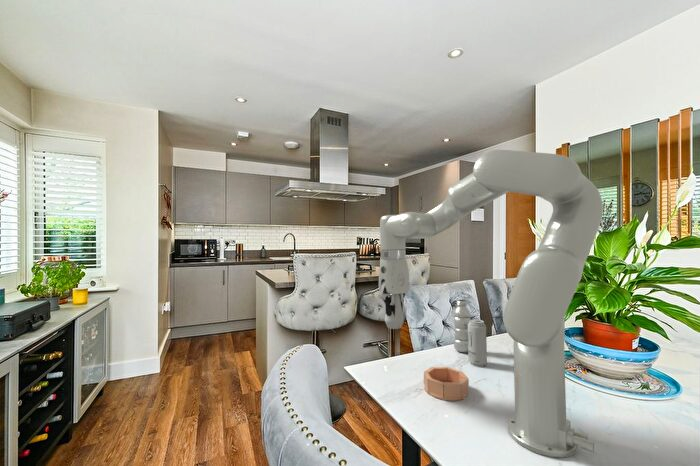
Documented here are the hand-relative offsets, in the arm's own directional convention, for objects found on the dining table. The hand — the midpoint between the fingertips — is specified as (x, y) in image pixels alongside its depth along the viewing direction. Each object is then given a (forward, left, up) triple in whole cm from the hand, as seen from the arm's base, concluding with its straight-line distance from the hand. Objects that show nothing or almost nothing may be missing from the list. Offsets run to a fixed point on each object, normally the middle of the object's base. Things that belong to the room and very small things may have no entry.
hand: (394, 316), depth 90 cm
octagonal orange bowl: (-12, -8, -21) cm, 25 cm away
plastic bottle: (-2, -42, -21) cm, 47 cm away
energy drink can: (-11, -34, -21) cm, 41 cm away
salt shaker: (0, 0, -3) cm, 3 cm away
